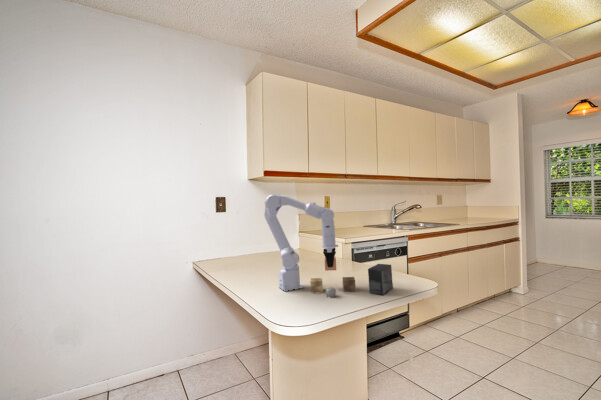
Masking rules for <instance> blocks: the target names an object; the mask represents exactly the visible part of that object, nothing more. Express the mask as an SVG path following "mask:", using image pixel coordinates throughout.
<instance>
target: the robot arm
mask: <svg viewBox="0 0 601 400" xmlns="http://www.w3.org/2000/svg"><path fill="white" fill-rule="evenodd" d="M284 206H290V207H293V208H296V209H299V210H302V211H304V213H305V215H307V216H310V217H312V218H315V219H318V220H321V224H322V225H321V232H322V233H321V234H322V235H321V236H322V237H321V238H322V249H323V251H322V254H323V255H324V259H325V258H326V261H327V265H328V267H333V262H334V257H336V253H337V251H336V250H337V249H336V248H338V247H339V244H336V228H335V221H334V218H335V212H334V211H333V210H332V209H330V208H327V207H326V206H322V205H318V204H317V203H316V202H315V201H314V202H309V203H304V202H302V201H300V200H297V199H295V198H292V197H290V196H287V195H281V194H270V195H268V196H267V197H266V199H265V201H264V219H265V221H266V223H267V224H268V227H269V229H270V231H271V233H272V236H273V238H274V240H275V242H276V244H277V246H278V248H279V250H280V257H281V260H282V261H281V262H282V263H281V264H282V266H283V268H282V269H280V270H279V271H278V288H279V287H280V288H279V289H280V290H282V291H283V290H284V291H283V292H288V290H289V291H294V290H293V289H295V290H299V288H300V289H304V287H305V286H303V285H301V277H300V276H301V275H300V273H301V272H300V266H299V265H298V264H299V262H300V256H299V254H298V253H297V252H296V251H295V250H294V248H293V246H291V245H290V242H289V240H288V237H287V235H286V234H285V232H284V229H283V228H282V225H281V223H280V221H279V219H278V215H277V214H278V212H279V210H280V209H281V208H282V207H284Z"/></svg>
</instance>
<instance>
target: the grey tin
mask: <svg viewBox="0 0 601 400" xmlns="http://www.w3.org/2000/svg"><path fill="white" fill-rule="evenodd" d="M336 291H337V290H336V288H335V287H326V288H325V297H326V298H328V297H330V298H331V299H332V298H336V296H337V292H336ZM330 298H329V299H330Z"/></svg>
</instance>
